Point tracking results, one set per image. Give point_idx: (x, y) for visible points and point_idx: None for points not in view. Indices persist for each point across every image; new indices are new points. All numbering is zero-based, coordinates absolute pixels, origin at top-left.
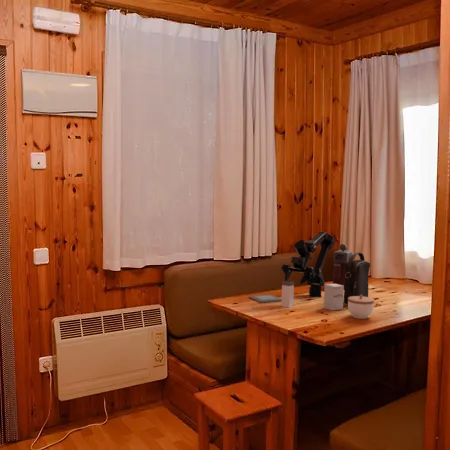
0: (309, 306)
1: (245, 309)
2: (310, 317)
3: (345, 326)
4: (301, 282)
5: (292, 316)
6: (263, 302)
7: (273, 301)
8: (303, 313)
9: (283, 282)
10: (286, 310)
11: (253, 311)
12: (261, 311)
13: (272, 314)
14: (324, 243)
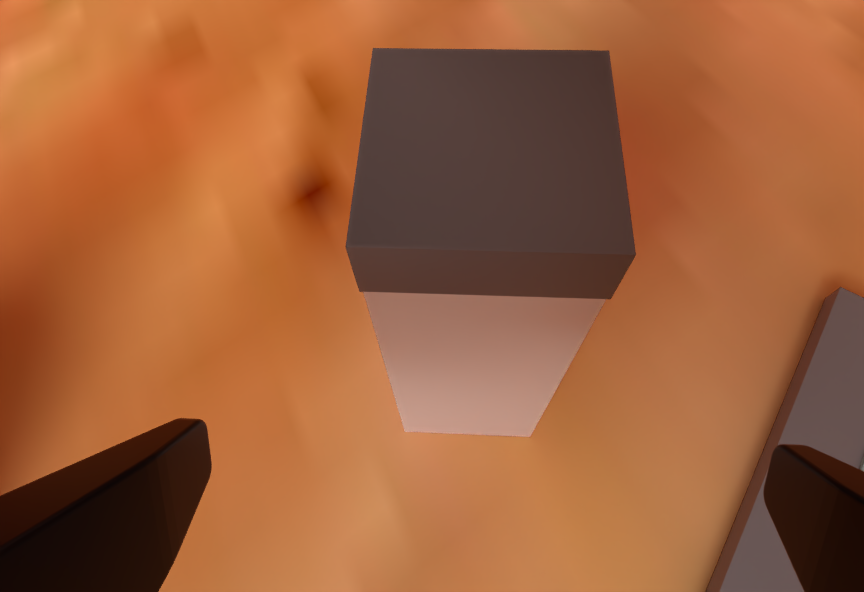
0: (183, 566)
1: (714, 15)
2: (76, 106)
3: None
4: (144, 447)
5: (240, 52)
6: (815, 328)
7: (762, 465)
8: (172, 186)
9: (561, 54)
10: None
11: (611, 4)
12: (557, 36)
13: (421, 15)
14: None
